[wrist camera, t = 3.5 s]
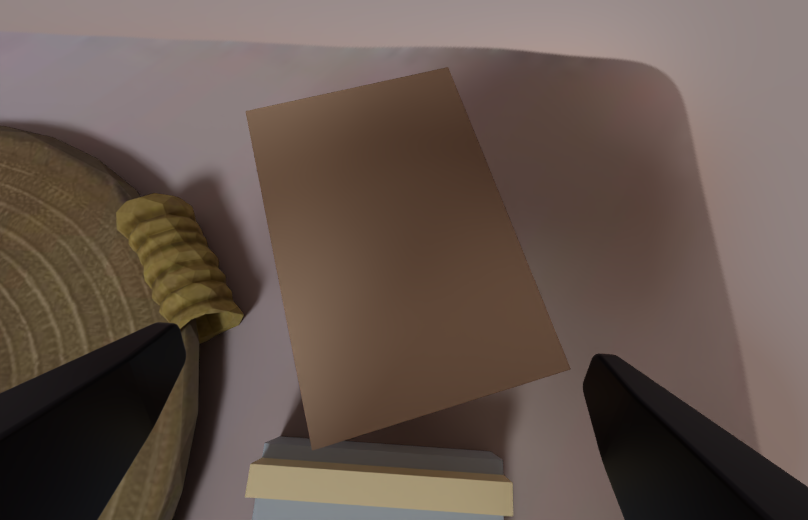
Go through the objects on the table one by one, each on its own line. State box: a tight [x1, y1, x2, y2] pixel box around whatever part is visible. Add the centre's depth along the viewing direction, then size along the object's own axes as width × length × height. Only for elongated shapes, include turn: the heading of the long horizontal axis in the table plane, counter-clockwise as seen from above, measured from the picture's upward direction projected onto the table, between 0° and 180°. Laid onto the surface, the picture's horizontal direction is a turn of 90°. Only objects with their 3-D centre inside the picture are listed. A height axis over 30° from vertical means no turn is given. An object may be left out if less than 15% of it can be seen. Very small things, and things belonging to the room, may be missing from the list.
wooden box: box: [246, 67, 570, 451], centre depth 12 cm, size 6×4×12 cm
